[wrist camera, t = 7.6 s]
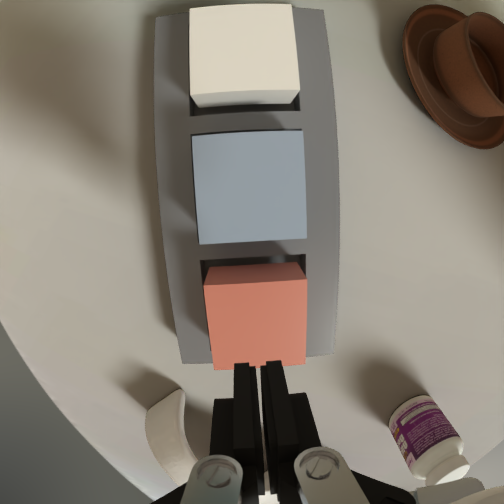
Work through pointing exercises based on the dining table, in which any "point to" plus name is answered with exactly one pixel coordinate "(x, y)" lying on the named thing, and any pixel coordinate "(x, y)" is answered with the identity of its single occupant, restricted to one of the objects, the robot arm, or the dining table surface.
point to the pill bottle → (428, 441)
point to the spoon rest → (178, 442)
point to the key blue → (250, 186)
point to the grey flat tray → (234, 121)
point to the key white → (243, 55)
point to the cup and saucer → (458, 71)
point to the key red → (256, 314)
